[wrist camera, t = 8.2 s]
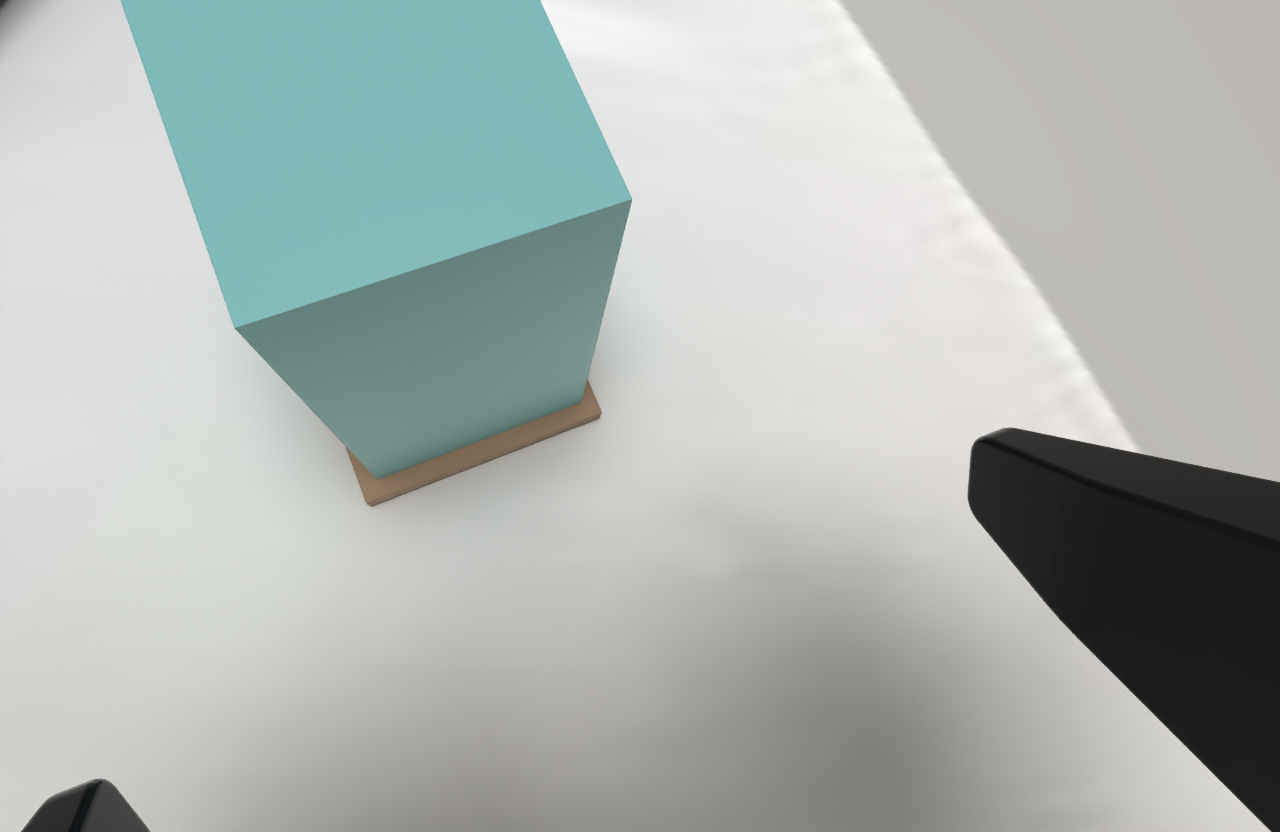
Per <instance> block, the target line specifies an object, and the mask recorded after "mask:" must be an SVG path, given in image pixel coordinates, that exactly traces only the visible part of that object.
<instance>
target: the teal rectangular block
mask: <svg viewBox="0 0 1280 832" xmlns="http://www.w3.org/2000/svg"><path fill="white" fill-rule="evenodd" d="M121 3H122V6H123V9H124V12H125V15H126V18H127V20H128V23H129V26H130V29H131V32H132V35H133V38H134V40H135V43H136V46H137V49H138V52H139V55H140V58H141V61H142V63H143V66H144V69H145V72H146V75H147V78H148V81H149V84H150V86H151V89H152V92H153V95H154V98H155V101H156V104H157V107H158V109H159V112H160V115H161V118H162V121H163V124H164V127H165V130H166V132H167V135H168V138H169V141H170V144H171V147H172V150H173V153H174V155H175V158H176V161H177V164H178V167H179V170H180V173H181V176H182V178H183V181H184V184H185V187H186V190H187V193H188V196H189V199H190V201H191V204H192V207H193V210H194V213H195V216H196V219H197V221H198V224H199V227H200V230H201V233H202V236H203V239H204V242H205V244H206V247H207V250H208V253H209V256H210V259H211V262H212V265H213V267H214V270H215V273H216V276H217V279H218V282H219V285H220V288H221V290H222V293H223V296H224V299H225V302H226V305H227V308H228V311H229V313H230V316H231V319H232V322H233V325H234V328H235V329H236V330H237V331H238V332H239V333H240V334H241V335H242V336H243V338H244V339H245V340H246V341H247V342H248V343H249V344H250V345H251V346H252V347H253V348H254V349H255V350H256V351H257V352H258V353H259V355H260V356H261V357H262V358H263V359H264V360H265V361H266V362H267V363H268V364H269V365H270V366H271V367H272V368H273V369H274V370H275V371H276V373H277V374H278V375H279V376H280V377H281V378H282V379H283V380H284V381H285V382H286V383H287V384H288V385H289V386H290V387H291V388H292V390H293V391H294V392H295V393H296V394H297V395H298V396H299V397H300V398H301V399H302V400H303V401H304V402H305V403H306V404H307V405H308V406H309V408H310V409H311V410H312V411H313V412H314V413H315V414H316V415H317V416H318V417H319V418H320V419H321V420H322V421H323V422H324V423H325V425H326V426H327V427H328V428H329V429H330V430H331V431H332V432H333V433H334V434H335V435H336V436H337V437H338V438H339V439H340V440H341V441H342V443H343V444H344V445H345V446H346V447H347V448H348V449H349V450H350V451H351V452H352V453H353V454H354V455H355V456H356V457H357V458H358V460H359V461H360V462H361V463H362V464H363V465H364V466H365V467H366V468H367V469H368V470H369V471H370V472H371V473H372V474H373V475H374V477H375V478H376V479H377V480H379V479H382V478H384V477H387V476H389V475H392V474H395V473H397V472H400V471H403V470H405V469H408V468H410V467H413V466H416V465H418V464H421V463H424V462H426V461H429V460H432V459H434V458H437V457H439V456H442V455H445V454H447V453H450V452H453V451H455V450H458V449H460V448H463V447H466V446H468V445H471V444H474V443H476V442H479V441H482V440H484V439H487V438H489V437H492V436H495V435H497V434H500V433H503V432H505V431H508V430H510V429H513V428H516V427H518V426H521V425H524V424H526V423H529V422H531V421H534V420H537V419H539V418H542V417H545V416H547V415H550V414H553V413H555V412H558V411H560V410H563V409H566V408H568V407H571V406H574V405H576V404H579V403H581V401H582V397H583V393H584V389H585V385H586V381H587V377H588V373H589V369H590V365H591V361H592V358H593V354H594V350H595V346H596V342H597V338H598V334H599V330H600V326H601V322H602V318H603V314H604V310H605V306H606V302H607V298H608V294H609V290H610V286H611V282H612V278H613V274H614V270H615V266H616V262H617V258H618V254H619V250H620V246H621V242H622V238H623V234H624V230H625V226H626V222H627V218H628V214H629V210H630V206H631V202H632V197H631V195H630V193H629V191H628V189H627V187H626V184H625V182H624V180H623V178H622V176H621V174H620V171H619V169H618V167H617V165H616V163H615V161H614V159H613V156H612V154H611V152H610V150H609V148H608V146H607V144H606V141H605V139H604V137H603V135H602V133H601V131H600V128H599V126H598V124H597V122H596V120H595V118H594V116H593V113H592V111H591V109H590V107H589V105H588V103H587V100H586V98H585V96H584V94H583V92H582V90H581V88H580V85H579V83H578V81H577V79H576V77H575V75H574V73H573V70H572V68H571V66H570V64H569V62H568V60H567V57H566V55H565V53H564V51H563V49H562V47H561V45H560V42H559V40H558V38H557V36H556V34H555V32H554V29H553V27H552V25H551V23H550V21H549V19H548V17H547V14H546V12H545V10H544V8H543V6H542V4H541V2H540V0H121Z"/></svg>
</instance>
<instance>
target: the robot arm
mask: <svg viewBox="0 0 1280 832" xmlns="http://www.w3.org/2000/svg"><path fill="white" fill-rule="evenodd" d="M968 502H969V506H970V508H971V511H972V513H973V515H974V516H975V518H976V519H977V520H978V522H979V523H980V524H981V525H982V527H983V528H984V529H985V530H986V531H987V533H988V534H989V535H990V536H991V537H992V539H993V540H994V541H995V542H996V544H997V545H998V546H999V547H1000V548H1001V550H1002V551H1003V552H1004V553H1005V554H1006V556H1007V557H1008V558H1009V559H1010V561H1011V562H1012V563H1013V564H1014V565H1015V567H1016V568H1017V569H1018V570H1019V571H1020V573H1021V574H1022V575H1023V576H1024V578H1025V579H1026V580H1027V581H1028V582H1029V584H1030V585H1031V586H1032V587H1033V588H1034V590H1035V591H1036V592H1037V593H1038V595H1039V596H1040V597H1041V598H1042V599H1043V601H1044V602H1045V603H1046V604H1047V605H1048V606H1049V608H1050V609H1051V610H1052V611H1053V612H1054V613H1055V614H1056V616H1057V617H1058V618H1059V619H1060V620H1061V621H1062V622H1063V623H1064V624H1065V625H1066V627H1067V628H1068V629H1069V630H1070V631H1071V632H1072V633H1073V634H1074V635H1075V636H1076V637H1077V638H1078V639H1079V640H1080V641H1081V642H1082V643H1083V644H1084V645H1085V646H1086V647H1087V648H1088V649H1089V650H1090V651H1091V652H1092V653H1093V654H1094V655H1095V656H1096V657H1097V658H1098V659H1099V660H1100V661H1101V662H1102V663H1103V664H1104V665H1105V666H1106V667H1107V668H1108V669H1109V670H1110V671H1111V672H1112V673H1113V674H1114V675H1115V676H1116V677H1117V678H1118V679H1119V680H1120V681H1121V682H1122V683H1123V684H1124V685H1125V686H1126V687H1127V688H1128V689H1129V690H1130V691H1131V692H1132V693H1133V694H1134V695H1135V696H1136V697H1137V698H1138V699H1139V700H1140V701H1141V702H1142V703H1143V704H1144V705H1145V706H1146V707H1147V708H1148V709H1149V710H1150V711H1151V712H1152V713H1153V714H1154V715H1155V716H1156V717H1157V718H1158V719H1159V720H1160V721H1161V722H1162V723H1163V724H1164V725H1165V726H1166V727H1167V728H1168V729H1169V730H1170V731H1171V732H1172V733H1173V734H1174V735H1175V736H1176V737H1177V738H1178V739H1179V740H1180V741H1181V742H1182V743H1183V744H1184V745H1185V746H1186V747H1187V748H1188V749H1189V750H1190V751H1191V752H1192V753H1193V754H1194V755H1195V756H1196V757H1197V758H1198V759H1199V760H1200V761H1201V762H1202V763H1203V764H1204V765H1205V766H1206V767H1207V768H1208V769H1209V770H1210V771H1211V772H1212V773H1213V774H1214V775H1215V776H1216V777H1217V778H1218V779H1219V780H1220V781H1221V782H1222V783H1223V784H1224V785H1225V786H1226V787H1227V788H1228V789H1229V790H1230V791H1231V792H1232V793H1233V794H1234V795H1235V796H1236V797H1237V798H1238V799H1239V800H1240V801H1241V802H1242V803H1243V804H1244V805H1245V806H1246V807H1247V808H1248V809H1249V810H1250V811H1251V812H1252V813H1253V814H1254V815H1255V816H1256V817H1257V818H1258V819H1259V820H1260V821H1261V822H1262V823H1263V824H1264V825H1265V826H1266V827H1267V828H1268V829H1269V830H1270V831H1271V832H1280V482H1276V481H1271V480H1266V479H1261V478H1256V477H1251V476H1246V475H1242V474H1237V473H1232V472H1226V471H1222V470H1217V469H1212V468H1207V467H1202V466H1198V465H1193V464H1188V463H1182V462H1178V461H1173V460H1168V459H1163V458H1158V457H1154V456H1149V455H1144V454H1139V453H1134V452H1129V451H1124V450H1119V449H1114V448H1110V447H1105V446H1100V445H1095V444H1090V443H1085V442H1080V441H1075V440H1070V439H1066V438H1061V437H1056V436H1051V435H1046V434H1041V433H1036V432H1031V431H1026V430H1022V429H1017V428H1003V429H1000V430H997V431H995V432H992V433H990V434H987V435H984V436H982V437H980V438H978V439H977V440H976V441H975V442H974V444H973V446H972V449H971V457H970V470H969V483H968ZM21 832H150V831H149V829H148V828H147V826H146V825H145V824H144V823H143V821H142V820H141V819H140V817H139V816H138V815H137V814H136V812H135V811H134V810H133V809H132V807H131V806H130V805H129V803H128V802H127V801H126V800H125V798H124V797H123V796H122V795H121V793H120V792H119V791H118V789H117V788H116V787H115V786H114V785H113V784H112V783H111V782H109V781H107V780H105V779H94V780H91V781H89V782H86V783H83V784H81V785H78V786H76V787H73V788H71V789H68V790H65V791H63V792H60V793H58V794H56V795H54V796H52V797H50V798H49V799H48V800H46V801H45V802H44V803H43V805H42V806H41V807H40V808H39V809H38V810H37V812H36V813H35V814H34V816H33V817H32V818H31V819H30V821H29V822H28V823H27V825H26V826H25V827H24V829H23V830H22V831H21Z"/></svg>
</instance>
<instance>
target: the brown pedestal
mask: <svg viewBox="0 0 1280 832" xmlns="http://www.w3.org/2000/svg"><path fill="white" fill-rule="evenodd" d="M600 415H601V409H600V407H599V405H598V402H597V400H596V398H595V396H594V393H593V391H592V389H591V386H590V384H589V382H588V379H587V381H586V385H585V389H584V393H583V397H582V401H581V403H579V404H576V405H574V406H571V407H568V408H566V409H563V410H560V411H558V412H555V413H553V414H550V415H547V416H545V417H542V418H539V419H537V420H534V421H531V422H529V423H526V424H524V425H521V426H518V427H516V428H513V429H510V430H508V431H505V432H503V433H500V434H497V435H495V436H492V437H489V438H487V439H484V440H482V441H479V442H476V443H474V444H471V445H468V446H466V447H463V448H460V449H458V450H455V451H453V452H450V453H447V454H445V455H442V456H439V457H437V458H434V459H432V460H429V461H426V462H424V463H421V464H418V465H416V466H413V467H410V468H408V469H405V470H403V471H400V472H397V473H395V474H392V475H389V476H387V477H384V478H382V479H379V480H377V479H376V478H375V477H374V475H373V474H372V473H371V472H370V471H369V470H368V469H367V468H366V467H365V466H364V465H363V464H362V463H361V462H360V461H359V460H358V458H357V457H356V456H355V455H354V454H353V453H352V452H351V451H350V450H349V449H348V448H347V447H346V449H347V451H348V454H349V457H350V460H351V462H352V465H353V468H354V471H355V473H356V476H357V479H358V482H359V484H360V487H361V490H362V492H363V495H364V498H365V501H366V503H367V504H368V505H370V506H374V505H376V504H379V503H381V502H384V501H386V500H389V499H392V498H394V497H397V496H399V495H402V494H405V493H407V492H410V491H412V490H415V489H417V488H420V487H423V486H425V485H428V484H430V483H433V482H436V481H438V480H441V479H443V478H446V477H448V476H451V475H454V474H456V473H459V472H461V471H464V470H467V469H469V468H472V467H474V466H477V465H479V464H482V463H485V462H487V461H490V460H492V459H495V458H498V457H500V456H503V455H505V454H508V453H510V452H513V451H516V450H518V449H521V448H523V447H526V446H529V445H531V444H534V443H536V442H539V441H542V440H544V439H547V438H549V437H552V436H554V435H557V434H560V433H562V432H565V431H567V430H570V429H573V428H575V427H578V426H580V425H583V424H585V423H588V422H591V421H593V420H596V419H598V418H600Z"/></svg>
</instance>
